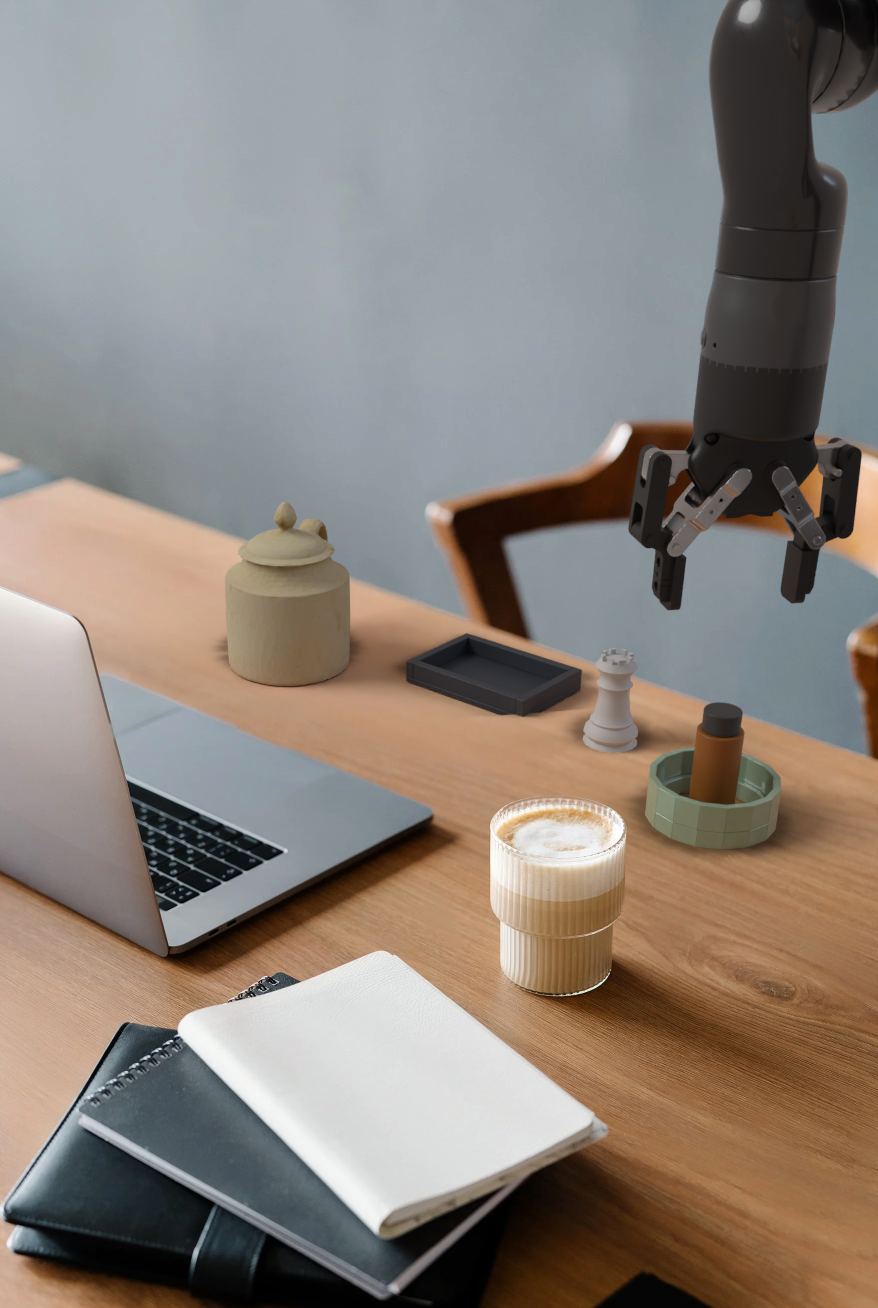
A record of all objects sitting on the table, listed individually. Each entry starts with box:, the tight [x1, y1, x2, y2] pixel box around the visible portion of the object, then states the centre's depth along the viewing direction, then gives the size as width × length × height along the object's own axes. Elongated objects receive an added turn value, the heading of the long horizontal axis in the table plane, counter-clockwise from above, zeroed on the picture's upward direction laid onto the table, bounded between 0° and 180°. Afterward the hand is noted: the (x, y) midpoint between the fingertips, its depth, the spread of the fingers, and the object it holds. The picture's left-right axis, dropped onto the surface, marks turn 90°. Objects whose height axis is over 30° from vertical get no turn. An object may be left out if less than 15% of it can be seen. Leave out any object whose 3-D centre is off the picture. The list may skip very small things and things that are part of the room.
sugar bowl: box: [224, 501, 351, 687], centre depth 124 cm, size 15×11×15 cm
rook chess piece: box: [582, 647, 639, 754], centre depth 109 cm, size 4×4×8 cm
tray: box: [405, 632, 583, 718], centre depth 121 cm, size 13×9×2 cm
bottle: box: [688, 701, 745, 805], centre depth 97 cm, size 3×3×9 cm
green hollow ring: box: [644, 746, 783, 851], centre depth 98 cm, size 9×9×4 cm
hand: (731, 602), depth 91 cm, fingers open, 8 cm apart
